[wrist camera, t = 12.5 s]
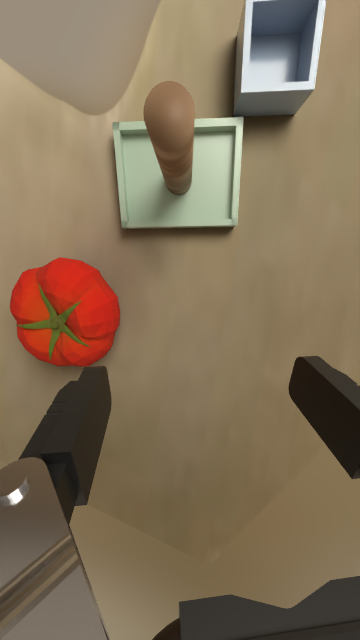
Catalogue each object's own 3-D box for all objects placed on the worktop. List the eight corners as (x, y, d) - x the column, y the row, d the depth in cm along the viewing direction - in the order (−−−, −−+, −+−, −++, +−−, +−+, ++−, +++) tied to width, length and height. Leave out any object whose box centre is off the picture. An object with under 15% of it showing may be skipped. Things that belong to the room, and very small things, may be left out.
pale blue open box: (232, 116, 28) (241, 92, 24) (236, 35, 26) (246, -8, 21) (294, 114, 28) (314, 89, 23) (304, 31, 25) (327, -14, 21)
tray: (126, 229, 33) (121, 227, 30) (117, 131, 29) (112, 122, 27) (234, 226, 32) (237, 225, 30) (239, 127, 28) (243, 117, 26)
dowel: (165, 195, 30) (145, 145, 16) (164, 165, 29) (141, 82, 15) (191, 194, 30) (194, 144, 16) (191, 164, 29) (195, 79, 15)
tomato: (53, 351, 39) (10, 382, 30) (33, 257, 34) (-26, 259, 25) (131, 351, 39) (113, 384, 29) (123, 255, 34) (97, 257, 24)
